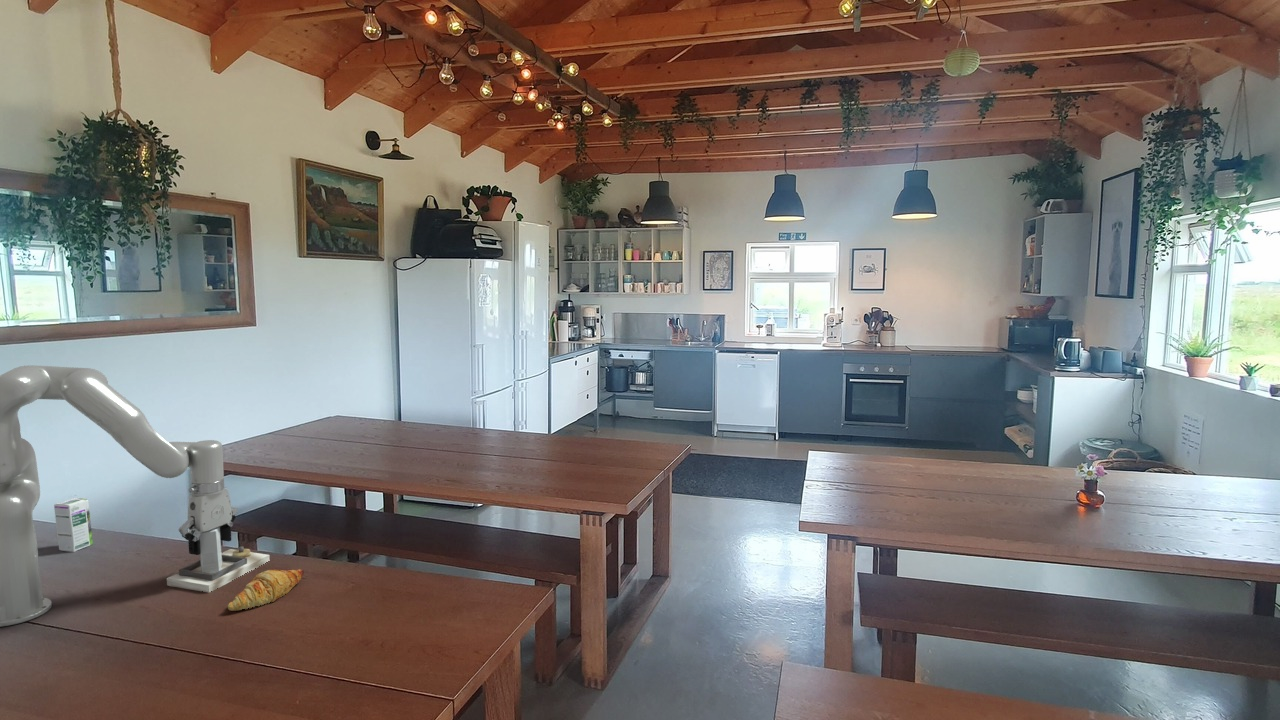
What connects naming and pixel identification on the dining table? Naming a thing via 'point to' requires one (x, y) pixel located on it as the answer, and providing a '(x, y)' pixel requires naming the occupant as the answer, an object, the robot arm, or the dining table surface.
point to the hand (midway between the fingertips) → (210, 547)
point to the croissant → (266, 588)
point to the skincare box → (210, 551)
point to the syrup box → (73, 524)
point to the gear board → (231, 568)
